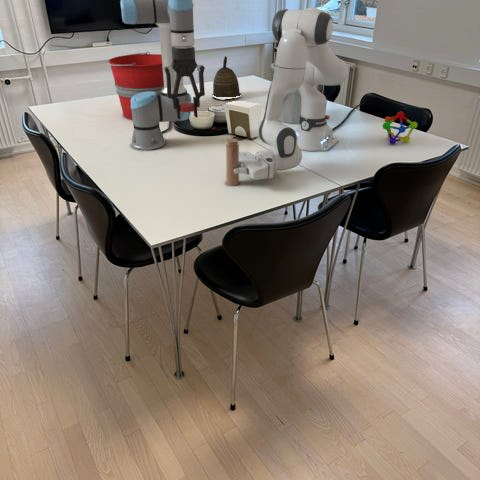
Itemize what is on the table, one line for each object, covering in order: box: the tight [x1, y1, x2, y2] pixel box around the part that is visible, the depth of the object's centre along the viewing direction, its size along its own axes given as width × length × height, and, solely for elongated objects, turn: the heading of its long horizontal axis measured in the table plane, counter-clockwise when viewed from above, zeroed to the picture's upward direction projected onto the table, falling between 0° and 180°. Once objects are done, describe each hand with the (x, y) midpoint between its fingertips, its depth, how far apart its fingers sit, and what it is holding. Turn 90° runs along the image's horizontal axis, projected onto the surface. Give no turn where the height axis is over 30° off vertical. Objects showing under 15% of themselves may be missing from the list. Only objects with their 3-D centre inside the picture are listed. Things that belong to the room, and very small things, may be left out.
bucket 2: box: [270, 62, 325, 125], centre depth 235 cm, size 30×30×28 cm
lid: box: [179, 102, 195, 113], centre depth 155 cm, size 6×6×2 cm
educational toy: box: [382, 110, 418, 145], centre depth 207 cm, size 16×13×15 cm
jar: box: [225, 138, 240, 187], centre depth 167 cm, size 5×5×17 cm
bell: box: [212, 56, 242, 97], centre depth 278 cm, size 19×26×20 cm
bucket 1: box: [105, 51, 164, 121], centre depth 241 cm, size 35×35×30 cm
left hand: (187, 116), depth 157 cm, fingers closed on lid, 5 cm apart
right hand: (230, 168), depth 167 cm, fingers closed on jar, 5 cm apart
